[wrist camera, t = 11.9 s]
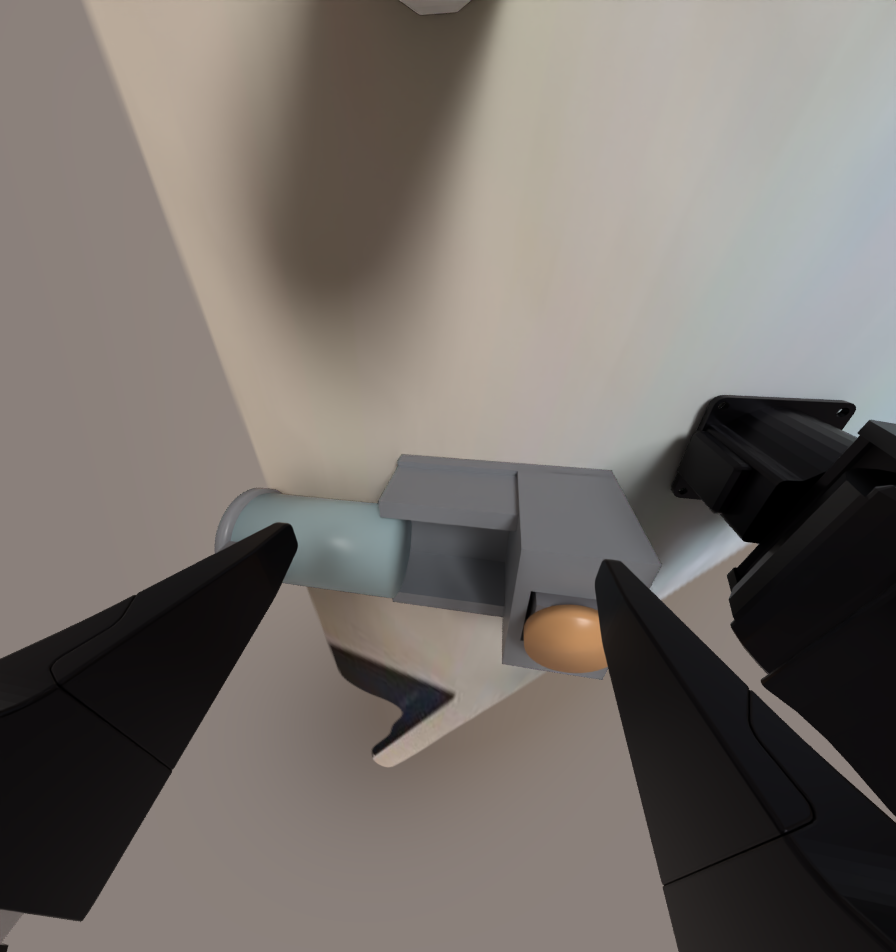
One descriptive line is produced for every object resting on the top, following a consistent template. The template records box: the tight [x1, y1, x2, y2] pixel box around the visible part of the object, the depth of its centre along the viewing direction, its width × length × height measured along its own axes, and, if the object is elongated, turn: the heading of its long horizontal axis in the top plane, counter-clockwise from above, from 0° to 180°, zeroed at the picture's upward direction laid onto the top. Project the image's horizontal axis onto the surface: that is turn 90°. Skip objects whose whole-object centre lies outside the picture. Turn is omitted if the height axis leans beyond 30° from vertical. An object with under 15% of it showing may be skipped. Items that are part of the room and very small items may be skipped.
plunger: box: [523, 591, 608, 673], centre depth 17 cm, size 5×5×4 cm
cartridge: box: [215, 488, 412, 598], centre depth 21 cm, size 11×7×10 cm, turn 90°
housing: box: [378, 454, 662, 680], centre depth 21 cm, size 14×10×8 cm
